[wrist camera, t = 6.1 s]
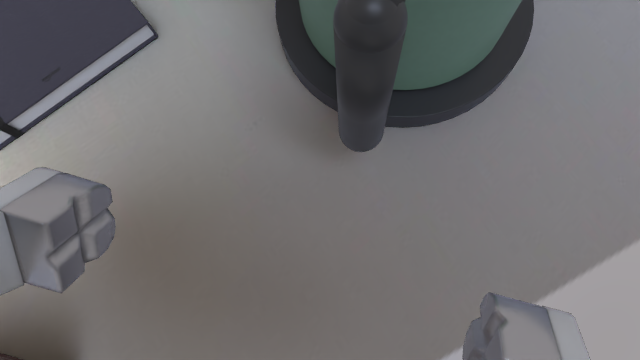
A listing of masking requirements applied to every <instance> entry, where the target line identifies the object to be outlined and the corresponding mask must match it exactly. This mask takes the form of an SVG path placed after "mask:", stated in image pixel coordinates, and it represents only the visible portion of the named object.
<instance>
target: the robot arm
mask: <svg viewBox="0 0 640 360" xmlns="http://www.w3.org/2000/svg"><path fill="white" fill-rule="evenodd" d="M112 202H113V201H112V195H111V189H110V188H108V187H107V186H106V185H104V184H100V183H97V182H94V181H91V180H87V179H84V178H81V177H77V176H74V175H71V174H68V173H63V172H60V171H56V170H53V169H50V168H46V167H41V168H35V169H33V170H32V171H30V172H28V173H26V174H25V175H23V176H21V177H19V178H18V179H16V180H14V181H12V182H10V183H9V184H7V185H5V186H3V187H2V188H0V295H2V294H5V293H7V292H9V291H11V290H14V289H16V288H18V287H20V286H23V285H24V283H27V284H31V285H34V286H38V287H41V288H45V289H48V290H52V291H55V292H59V293H62V292H63V291H64V290H66V289H67V288H68V287H69V286H70V285H71V284H72V283H73V282H74V281H75V280H76V279H77V278H78V277H79V276H80V275H81V274H83V273H84V271H85V263H86V262H89V261H92V260H95V259H98V258H99V257H100V256H101V255H102V254H103V253H104V252H105V251H106V250H107V249H108V248H109V246H110V244H111V242H112V240H113V238H114V234H115V228H116V226H115V218H114V217H113V215H112V214H111V212H110V211H109V210H108V207H109V206H110V204H111V203H112ZM480 314H481V317H480V318H478V319H475V320H473V321H472V322H471V324H470V326H469V329H468V331H467V333H466V337H465V341H464V346H463V360H590V357H589V355H588V352H587V349H586V346H585V344H584V341H583V338H582V336H581V333H580V330H579V328H578V325H577V322H576V319H575V317H574V316H573V315H572V314H571V313H568V312H564V311H560V310H557V309H553V308H549V307H545V306H539V305H535V304H531V303H528V302H524V301H520V300H517V299H513V298H509V297H506V296H502V295H498V294H495V293H491V292H488V293H487V294H486V295H485V297H484V298H483V300H482V302H481V304H480Z"/></svg>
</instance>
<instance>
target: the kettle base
mask: <svg viewBox="0 0 640 360" xmlns="http://www.w3.org/2000/svg"><path fill="white" fill-rule="evenodd" d="M533 14H534V4H533V0H522V1H521V3H520V5H519V6H518V8H517V10H516V11H515V13H514V15H513V16H512V18H511V20H510V21H509V23H508V25H507V27H506V28H505V30H504V32H503V33H502V35H501V37H500V38H499V40H498V41H497V43H496V45H495V46H494V48H493V49H492V50H491V52H490V53H489V54H488V55H487V56H486V57H485V58H484V59H483V60H482V61H481V62H480V63H479V64H478V65H476V66H475V67H474V68H473V69H471V70H470V71H468V72H466V73H465V74H463V75H462V76H460V77H458V78H456V79H453V80H451V81H449V82H446V83H443V84H440V85H437V86H434V87H428V88H423V89H414V90H393V91H392V96H391V100H390V105H389V109H388V114H387V119H386V123H385V126H386V127H417V126H424V125H430V124H435V123H439V122H442V121H445V120H448V119H451V118H454V117H456V116H458V115H460V114H462V113H464V112H467V111H469V110H470V109H472V108H473V107H475V106H476V105H478V104H479V103H481V102H483V101H484V100H485V99H486V98H487V97H488V96H489V95H491V94H492V93H493V92H494V91H495V90H496V89H497V88H498V87H499V85H500V84H501V83H502V82H503V81H504V80H505V78H506V77H507V76H508V74H509V73H510V72H511V70H512V69H513V67H514V66H515V64H516V63H517V61H518V60H519V58H520V57H521V55H522V53H523V51H524V49H525V46H526V44H527V42H528V39H529V36H530V32H531V28H532V23H533ZM276 20H277V25H278V31H279V35H280V39H281V42H282V46H283V49H284V52H285V55H286V58H287V60H288V62H289V64H290V66H291V67H292V69H293V71H294V73H295V74H296V75H297V77H298V78H299V80H300V81H301V82H302V84H303V85H304V86H305V87H306V88H307V89H308V90H309V91H310V92H311V93H312V94H313V95H314V96H316V97H317V98H318V99H319V100H321V101H322V102H323V103H324V104H326V105H328V106H329V107H331V108H332V109H334V110H336V111H337V112H338V103H337V84H336V68H335V67H334V66H333V65H331V64H330V63H329V62H328V61H327V60H326V59H325V58H324V57H323V56H322V55H321V54H320V53H319V52H318V50H317V49H316V47H315V46H314V45H313V43H312V42H311V40H310V38H309V36H308V34H307V32H306V29H305V27H304V24H303V21H302V15H301V10H300V4H299V0H276Z"/></svg>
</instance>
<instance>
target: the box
mask: <svg viewBox="0 0 640 360" xmlns="http://www.w3.org/2000/svg"><path fill="white" fill-rule="evenodd" d="M0 360H22V359H19V358H15V357H12V356H8V355H5V354H1V353H0Z"/></svg>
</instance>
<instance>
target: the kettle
mask: <svg viewBox="0 0 640 360" xmlns="http://www.w3.org/2000/svg"><path fill="white" fill-rule="evenodd" d="M521 1H522V0H299V4H300V10H301V15H302V21H303V24H304V27H305V29H306V32H307V34H308V36H309V38H310V40H311V42H312V43H313V45H314V46H315V47H316V49H317V50H318V52H319V53H320V54H321V55H322V56H323V57H324V58H325V59H326V60H327V61H328V62H329V63H330V64H331V65H333V66H334V67H335V68H336V84H337V103H338V122H339V135H340V138H341V140H342V142H343V143H344V145H345V146H347V147H348V148H349V149H351V150H353V151H357V152H365V151H369V150H371V149H373V148H374V147H376V146H377V145H378V144H379V142H380V141H381V139H382V136H383V132H384V128H385V123H386V119H387V114H388V109H389V105H390V100H391V96H392V91H393V90H414V89H423V88H428V87H434V86H437V85H440V84H443V83H446V82H449V81H451V80H453V79H456V78H458V77H460V76H462V75H463V74H465V73H466V72H468V71H470V70H471V69H473V68H474V67H475V66H476V65H478V64H479V63H480V62H481V61H482V60H483V59H484V58H485V57H486V56H487V55H488V54H489V53H490V52H491V50H492V49H493V48H494V46H495V45H496V43H497V41H498V40H499V38H500V37H501V35H502V33H503V32H504V30H505V28H506V27H507V25H508V23H509V21H510V20H511V18H512V16H513V15H514V13H515V11H516V10H517V8H518V6H519V5H520V3H521Z"/></svg>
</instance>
